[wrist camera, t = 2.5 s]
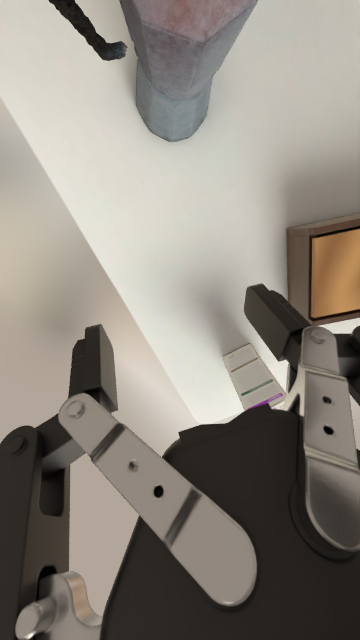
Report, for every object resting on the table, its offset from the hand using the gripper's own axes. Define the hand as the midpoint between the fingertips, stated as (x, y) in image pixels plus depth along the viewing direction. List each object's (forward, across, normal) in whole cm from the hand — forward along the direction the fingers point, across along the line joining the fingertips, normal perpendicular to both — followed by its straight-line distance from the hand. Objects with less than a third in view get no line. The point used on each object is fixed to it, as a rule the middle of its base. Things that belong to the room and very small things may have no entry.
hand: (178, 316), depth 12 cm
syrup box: (+12, -13, +27) cm, 33 cm away
